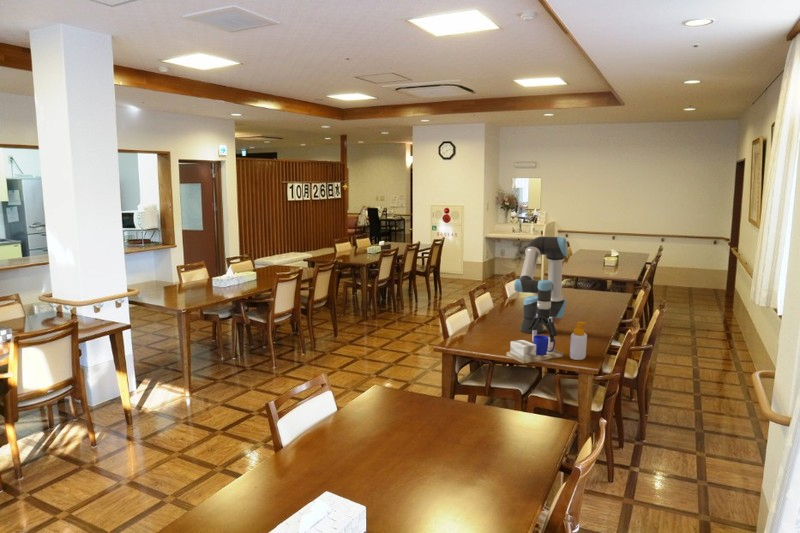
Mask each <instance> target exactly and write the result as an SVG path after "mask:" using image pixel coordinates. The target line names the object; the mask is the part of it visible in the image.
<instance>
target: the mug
mask: <svg viewBox="0 0 800 533" xmlns="http://www.w3.org/2000/svg"><path fill="white" fill-rule="evenodd" d="M548 341H549V336H546V335H541V334H537V335H536V336H534V341H533V344H535V345H536V355H546V353H547V351H548V350H547V349H548ZM555 346H556V339H555V338H554V342H553V347H551V348H552V350H551V351H548V352H552V351H553V350H555Z"/></svg>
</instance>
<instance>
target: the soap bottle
mask: <svg viewBox="0 0 800 533" xmlns="http://www.w3.org/2000/svg"><path fill="white" fill-rule="evenodd" d="M583 325H587V322H585V321H577V322H576V328H574V330H573V332H572V333H571V335H570V345H569V349H570V350H569V357H570V359H572V360H575V361H581V360H584V359H585V358H586V357H587V343H588V334H587V333H585V330H584V328H583Z"/></svg>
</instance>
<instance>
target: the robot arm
mask: <svg viewBox="0 0 800 533" xmlns="http://www.w3.org/2000/svg"><path fill="white" fill-rule="evenodd" d="M568 248H569V247H568V240H567V239H566V237H562V236H561V237H560V236H542V235H541V236H537V237H535V238H534V239H532V240H531V241H529V242H528V244H526V247H525V249H524V250H525V251H524V254H525V256H524V260H523V265H522V268H521V273H520V277H519V278H518V279H517V278H516V279H515V280H514V287H513V288H514V291H515V292H516V293H522V294H523V293H525V294H528V293H529V294H537V295H530V296H526V297H525V298H524V300H523V313H522V314H523V315H522V316H523V318H522V322H521V324H520V327H519V330H520V332H521V333H522V332H523V333H525V334H526V333H527V334H531V335H532V338H531V339H532V340H531V341H532V342H534V336H536V335H538V334H541V333H544V327H545V329H546V330H547V332H548V335H549V336H548V338H549V341H548V348H553V345H554V339H555V337H557V336H558V333H557V329H556V327H555V326H556V325H555V323H554V318H555V319H562V318H564V314H565V310H566V304H567V300H566V299H564V298H565V297H564V296H563V295H562V290H563V289H562V286H563V261H564V260H565V259H566V257H567V256H568V252H569V251H568V250H569V249H568ZM541 255H542V256H545V259H546V260H547V262H548V263H547V264H548V266H547V267H548V268H547V270H548V271H547V279H542V280H534V277H535V271H536V267H537V263H538V259H539V257H540V256H541Z"/></svg>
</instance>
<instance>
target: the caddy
mask: <svg viewBox="0 0 800 533" xmlns="http://www.w3.org/2000/svg"><path fill="white" fill-rule="evenodd" d="M509 348H510V349H509V350H510V351H506V353H505V354H506V357H509V358H510V359H513V360H515V361H517V362H519V363H522V364H528V363H534V362H539V361H545V360H549V359H550V360H551V359H556V358H562V357H564V352H562V351H559V350H558V349H557V350H556V349H554V350H553V351H552V352H548V351H551V350H552V348H553V347H551V348H548V349H547V350H548V351H547V353H546V355H536V345H535V344H534V342H533V343H532V342H530V341H528V340H524V339H518V340H513V341H510V347H509Z"/></svg>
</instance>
